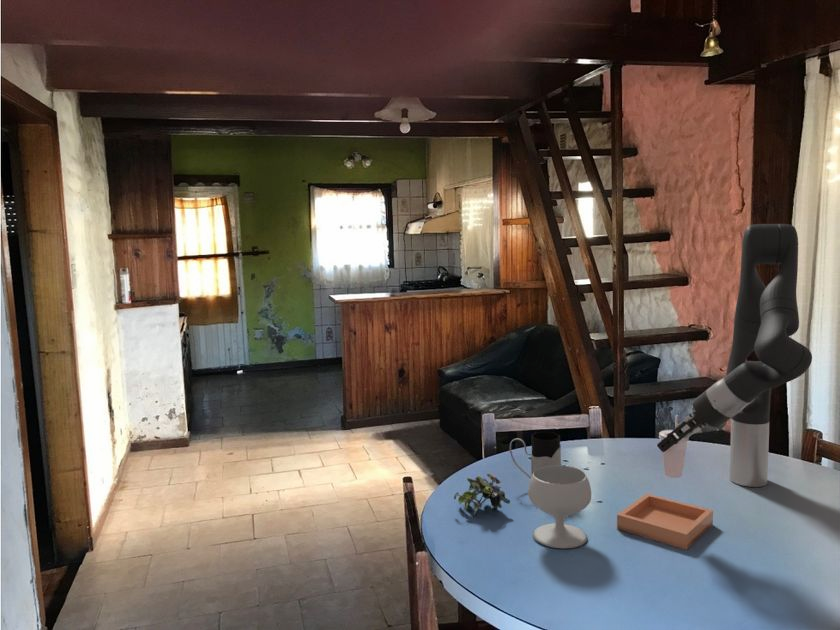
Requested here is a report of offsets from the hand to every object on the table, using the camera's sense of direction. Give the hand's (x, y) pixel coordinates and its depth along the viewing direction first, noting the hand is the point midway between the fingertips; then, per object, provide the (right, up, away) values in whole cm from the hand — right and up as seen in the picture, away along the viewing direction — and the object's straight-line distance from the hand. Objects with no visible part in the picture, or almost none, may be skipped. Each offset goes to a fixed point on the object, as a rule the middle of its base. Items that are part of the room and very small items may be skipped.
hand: (666, 444), depth 149 cm
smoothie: (+1, -7, 0) cm, 7 cm away
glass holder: (-25, -18, +28) cm, 41 cm away
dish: (+1, -20, +2) cm, 20 cm away
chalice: (-25, -21, -1) cm, 33 cm away
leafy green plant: (-41, -20, +14) cm, 48 cm away
